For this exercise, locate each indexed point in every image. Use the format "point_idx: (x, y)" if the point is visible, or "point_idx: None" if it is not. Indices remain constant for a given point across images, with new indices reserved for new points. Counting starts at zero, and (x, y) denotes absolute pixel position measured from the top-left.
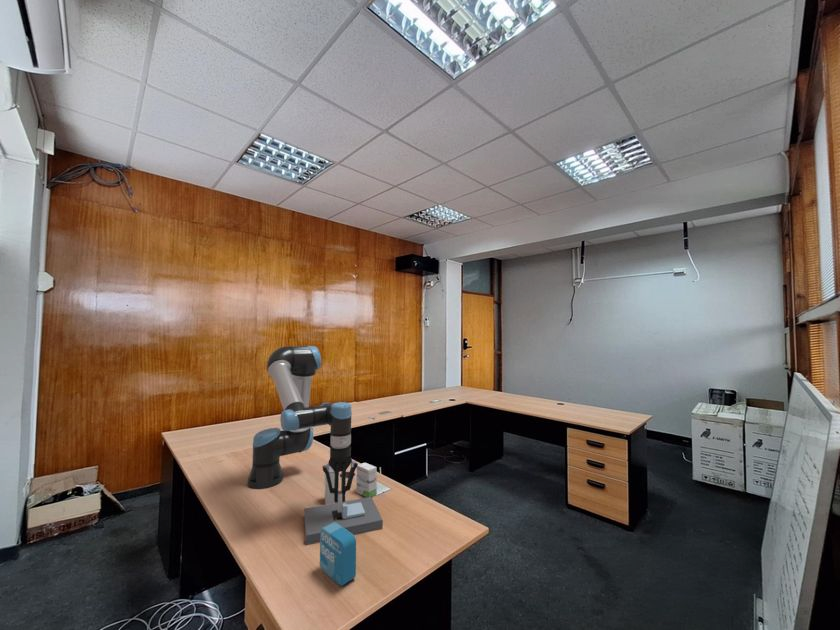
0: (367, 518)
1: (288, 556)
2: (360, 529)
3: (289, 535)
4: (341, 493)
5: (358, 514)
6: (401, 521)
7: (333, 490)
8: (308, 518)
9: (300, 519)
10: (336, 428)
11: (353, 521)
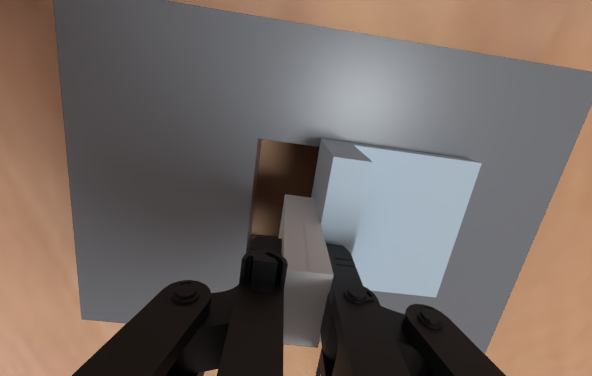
0: None
1: (36, 326)
2: None
3: (18, 178)
4: (312, 337)
5: (394, 290)
6: (563, 312)
7: (209, 361)
8: (90, 157)
9: None
10: None
11: None
